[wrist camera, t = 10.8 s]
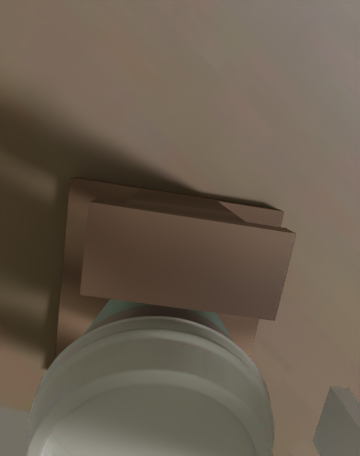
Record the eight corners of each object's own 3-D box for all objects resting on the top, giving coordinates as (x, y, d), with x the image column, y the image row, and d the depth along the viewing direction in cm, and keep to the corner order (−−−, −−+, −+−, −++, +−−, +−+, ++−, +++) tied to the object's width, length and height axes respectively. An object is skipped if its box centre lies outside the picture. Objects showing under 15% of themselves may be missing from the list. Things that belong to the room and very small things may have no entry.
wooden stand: (75, 171, 19) (-62, 178, 8) (280, 203, 20) (424, 253, 9) (57, 378, 23) (-60, 600, 11) (235, 398, 24) (298, 622, 12)
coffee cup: (96, 240, 19) (-15, 353, 8) (225, 241, 20) (306, 350, 8) (101, 355, 21) (17, 590, 9) (219, 354, 22) (280, 581, 10)
